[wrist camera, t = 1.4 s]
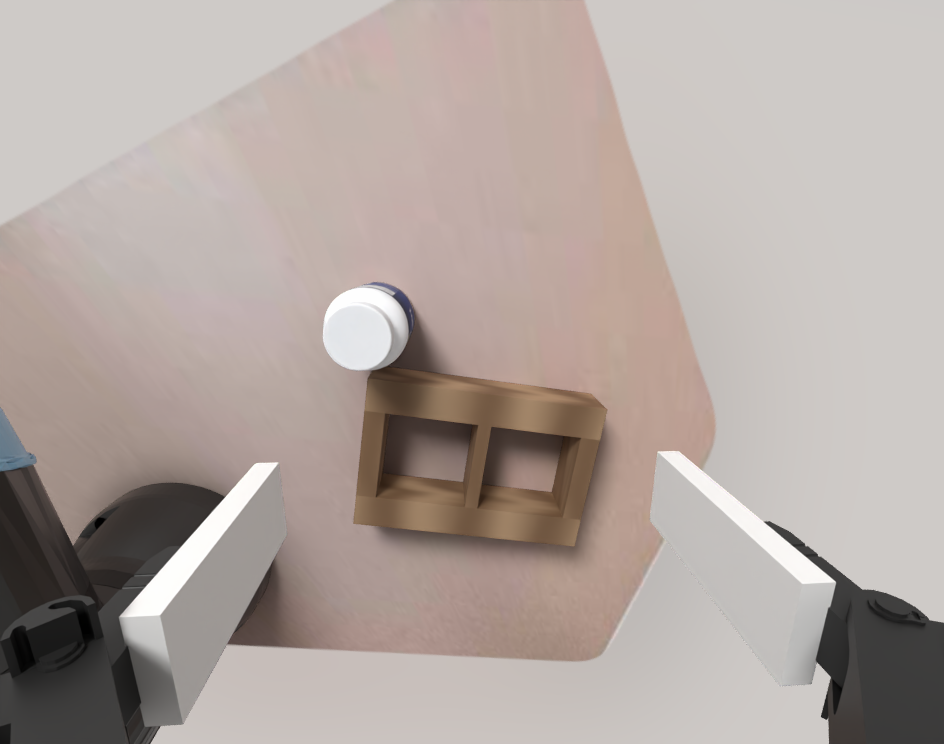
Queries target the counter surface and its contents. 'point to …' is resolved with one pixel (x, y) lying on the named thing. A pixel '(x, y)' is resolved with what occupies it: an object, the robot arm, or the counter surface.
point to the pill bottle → (368, 326)
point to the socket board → (477, 457)
